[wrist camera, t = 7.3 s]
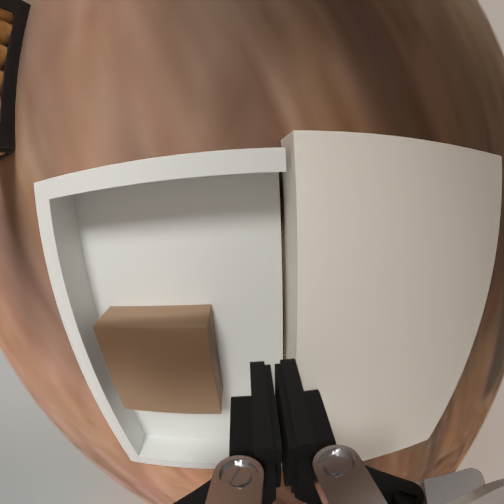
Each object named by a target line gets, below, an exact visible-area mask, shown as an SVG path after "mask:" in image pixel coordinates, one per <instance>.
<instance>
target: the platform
mask: <svg viewBox="0 0 504 504" xmlns="http://www.w3.org/2000/svg"><path fill="white" fill-rule="evenodd" d="M280 141H281V147H285V150H286V171H287V172H282V182H283V207H284V240H285V302H286V347H285V359H293V358H295V360H296V363H297V367H298V371H299V374H300V378H301V382H302V386H303V389H304V391H308V390H315V389H318V390H319V392H320V394H321V397H322V400H323V403H324V407H325V410H326V413H327V416H328V419H329V422H330V425H331V428H332V431H333V434H334V438H335V441H336V444H337V445H344V446H348V447H350V448H352V449H353V450H355V451H356V452H357V454H358V455H359V456H360V458H361V460H362V461H365V460H369V459H372V458H376V457H379V456H383V455H386V454H389V453H392V452H395V451H398V450H401V449H404V448H407V447H410V446H412V445H415V444H418V443H420V442H423V441H425V440H428V439H429V437H430V436H431V434H432V432H433V431H434V429H435V427H436V425H437V423H438V422H439V420H440V418H441V416H442V414H443V412H444V410H445V408H446V407H447V405H448V403H449V400H450V398H451V396H452V394H453V392H454V390H455V388H456V386H457V383H458V381H459V379H460V376H461V374H462V372H463V369H464V367H465V364H466V362H467V359H468V357H469V354H470V351H471V349H472V346H473V343H474V340H475V337H476V334H477V331H478V328H479V324H480V321H481V318H482V314H483V311H484V307H485V303H486V299H487V295H488V291H489V287H490V282H491V277H492V272H493V267H494V262H495V256H496V249H497V242H498V234H499V225H500V214H501V198H502V156H499V155H495V154H492V153H488V152H484V151H479V150H475V149H471V148H466V147H461V146H456V145H451V144H446V143H440V142H434V141H428V140H422V139H415V138H407V137H399V136H391V135H381V134H370V133H357V132H341V131H311V130H293V131H292V132H291V133H289V134H288V135H287V136H285V137H284V138H283V139H282V140H280Z"/></svg>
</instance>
